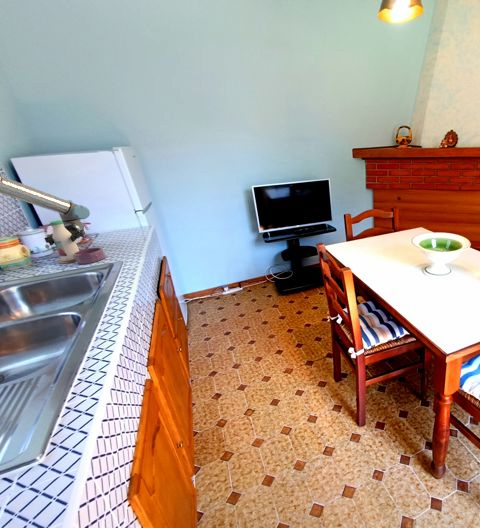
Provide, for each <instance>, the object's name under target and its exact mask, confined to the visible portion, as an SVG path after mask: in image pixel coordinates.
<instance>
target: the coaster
mask: <svg viewBox="0 0 480 528" xmlns="http://www.w3.org/2000/svg"><path fill="white" fill-rule="evenodd" d="M57 263H58V264H59V265H68V264H72V263H76V261H75V260H71V261H63V260H62V259H59V260H58V261H57Z"/></svg>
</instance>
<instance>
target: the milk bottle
mask: <svg viewBox="0 0 480 528" xmlns="http://www.w3.org/2000/svg"><path fill="white" fill-rule="evenodd" d="M49 225H50V227H51V228H52V234H53V241H54V245H55V248H56V250H57V252H58V255H59V257H60V260H63V261H71V260H75V258H74V256H73V254H74V253H75V252H78V251H80V249H79V247H78V244H77V242H76V240H75V241H74V242H72V240H71V238H70V236H71V235H72V234H71V233H70V232H69V231H68V230H67V229H66V228H65V227H64V224H63V222H62V219H61V220H60V219H59V220H53V221H50V222H49Z"/></svg>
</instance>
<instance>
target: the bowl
mask: <svg viewBox="0 0 480 528" xmlns="http://www.w3.org/2000/svg"><path fill="white" fill-rule="evenodd" d="M73 256H74V258H75V261H76V262H75V263H76V264H79V265H88V264H89V265H90V264H94V263H97V262H100V261H102V260H104V259H105V258H106V253H105V251H104V248H103V247H99V246H98V247H90V248H89V247H88V248H85V249H81V250H79V251H78V252H75V253H74V254H73Z"/></svg>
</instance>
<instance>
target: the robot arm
mask: <svg viewBox="0 0 480 528" xmlns="http://www.w3.org/2000/svg"><path fill="white" fill-rule="evenodd" d="M1 194H2V195H4V196H7V197H10V198H14V199H17V200H19V201H22V202H26V203H28V204H31V205H34V206H37V207H40V208H43V209H46V210H49V211H52V212H55V213H58V215H59V217H60V219H61V221H62V222H63V224H64V225H63V226H64V227H65V228H66V229H67V230H68V231H69V232H70V233H71V234H72V235H71V236H70V238H71V240H72V242H74V241H75V242H76V241H77V239H80V238H85V235H86V232H85V225H84V223H83V222H82V221H81V220H86V219H88V218H89V217H90V215H91V212H90V209H89V208H88V207H87V206H85V205H82V204H77V203H74V202H73V201H72V200H71V199H63V198H61V197H58V196H56V195H53V194H50V193H48V192H45V191H42V190H40V189H37V188H34V187H31V186H29V185H26V184H24V183H21V182H19V181H16V180H14V179H10V178H8V177H6V176H3V174H2V173H1V172H0V195H1ZM44 241H45V243H46V244H49V246H53V245H55V243H54V241H53V233H50V234H49V235H47V236H46V237H44Z"/></svg>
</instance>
